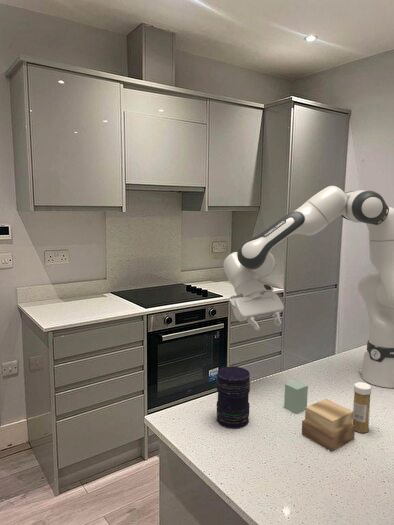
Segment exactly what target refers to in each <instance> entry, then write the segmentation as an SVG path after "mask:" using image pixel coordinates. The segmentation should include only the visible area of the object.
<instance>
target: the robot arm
mask: <svg viewBox="0 0 394 525" xmlns="http://www.w3.org/2000/svg"><path fill="white" fill-rule="evenodd" d="M339 217H341V218H343V219H345V220H347V221H350V222H351V221H352V222H353V223H358V224H359V223H362V224H365V225H366V226H367V230H368V245H369V246H368V247H369V260H370V262H371V264H372V265H373V266H374V267H375V269H376V271H377V273H367V274H364V275H363V276H362V277H361V278H360V279H359V282H358V285H357V290H358V294H359V295H360V296H361V297H362V299H363V301H364V303H365V306H366V311H367V314H368V320H369V321H368V322H369V323H368V324H369V325H368V326H369V329H368V340H367V341H366V342H367V343H366V351H365V352H364V354H363V359H362V365H361V368H359V369H358V372H359V374H362V375H361V378H362V380H363V381H365V382H367V384H371V385H373V386H377V387H381V388H382V387H383V388H388V389H391V388H392V389H393V388H394V207H391V206H388V205H387V203H386V201H385V198H383V196H382V195H381V194H380V193H378V192H376V191H375V190H365V189H359V190H352V191H347V192H345V191H344V190H342V189H341V188H340V187H338V186H336V185H329V186H327V187H325V188H323V189H321V190H320V191H318V192H316V193H315V194H314V195H313V196H311V197H310V198H309V199H308V200H306V201H305V202H304V203H303V204H302V205H301V206H299V207H298V208H297V209H295V210H293V211H292V212H290V213H289V212H288V214H286V215H284V216H283V217H282V218H280V219H279V220H277V221H276V222H275V223H273V224H272V225H271V226H269V227H268V228H265V230H264V231H262V232H261V233H260V234H257V235H256V236H253V237H250V238H248V239H246V240H244V241H243V242H242V243H241V244H240V245H239V247H238V249H237V251H234V252H231V253H230V254H228V255H227V256H226V257H225V259H224V261H223V263H222V264H223V267H222V268H223V270H224V273H225V275H226V278H227V279H228V281H229V283H230V285H232V287H233V288H234V292H235V295H231V296H230V297H229V300H228V301H229V304H230V306H231V308H232V312H233V315H234V317H235V319H236V320H237V321H238V322H245V321H247V323H248V324H249V325H251V326H252V327H253V328H254V330H255V331H261V329H262V325H261V324H260V323H259V322H257V321H256V319H260V318H265V317H269V316H270V317H272V318H273V319H274V321H273V324H274V325H275V327H279V326H281V325H282V321H281V319H280V318H281V317H280V314H281V313H282V312H283V311H284V310H285V309H284V308H285V307H284V306H285V305H284V303H283V301H282V300H281V299H280V297H279V296H278V294H277V292H275V291H274V287H273V285H271V284H266V283H263V282H259V281H258V280H261V279H262V278H265V277H267V276H269V275H271V274H272V273H273V272H274V270H275V268H276V265H277V264H276V263H277V262H276V258H275V256H274V255H273V253H271V250H272V249H274V248H275V247H276V246H278V245H279V244H280V243H281V242H283V241H285V240H286V239H287V238H288V237H290V236H292V235H297V234H298V235H299V234H300V235H303V236H315V235H316V234H317V233H320V232H321V231H323V230H324V229H325V228H326V227H327V226H328V225H330V224H331V223H332V222H333V221H334V220H335V219H337V218H339Z"/></svg>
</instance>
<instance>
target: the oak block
mask: <svg viewBox="0 0 394 525" xmlns="http://www.w3.org/2000/svg"><path fill="white" fill-rule="evenodd" d="M304 411H305V412H304V413H305V415H304V420H305V421H306V422H308V423H310V424H312V425H314V426H316V427H317V428H319V429H321V430H323V431H325V432H326V433H328V434H330V435H334V434H336V433H338V432H340V431H342V430H344V429H346V428H348V427H350V426H352V425H353V410H351V409H349V408H347V407H344V406H342V405H340V404H338V403H336V402H334V401H332V400H330V399H328V398H323V399H322V400H319V401H317V402H315V403H313V404H309V405H307V407H306V409H305V410H304Z"/></svg>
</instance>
